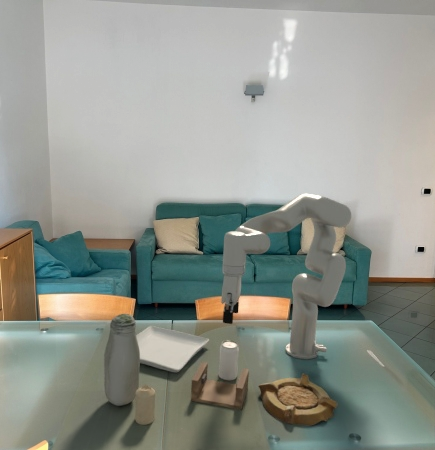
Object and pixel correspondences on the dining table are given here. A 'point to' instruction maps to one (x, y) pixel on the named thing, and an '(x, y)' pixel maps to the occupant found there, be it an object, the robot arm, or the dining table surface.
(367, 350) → the butter knife
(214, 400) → the holder
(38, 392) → the dining table surface
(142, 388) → the candle
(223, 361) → the can
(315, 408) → the ashtray
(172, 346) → the square plate
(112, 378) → the gray bottle
